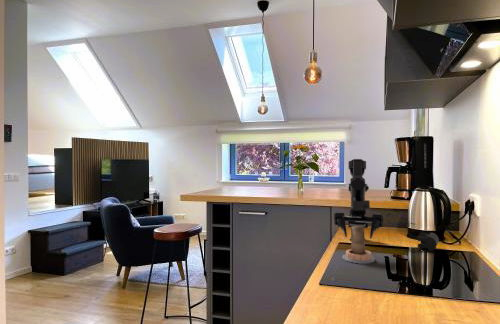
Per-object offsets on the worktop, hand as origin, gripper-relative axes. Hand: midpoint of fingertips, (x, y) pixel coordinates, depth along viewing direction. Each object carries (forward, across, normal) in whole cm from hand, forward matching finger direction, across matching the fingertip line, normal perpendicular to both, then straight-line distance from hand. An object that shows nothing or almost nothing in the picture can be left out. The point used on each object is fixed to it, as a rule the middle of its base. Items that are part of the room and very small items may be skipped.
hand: (358, 237), depth 136 cm
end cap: (-11, +29, +24) cm, 39 cm away
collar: (+5, 0, +7) cm, 9 cm away
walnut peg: (+5, 0, +7) cm, 8 cm away
